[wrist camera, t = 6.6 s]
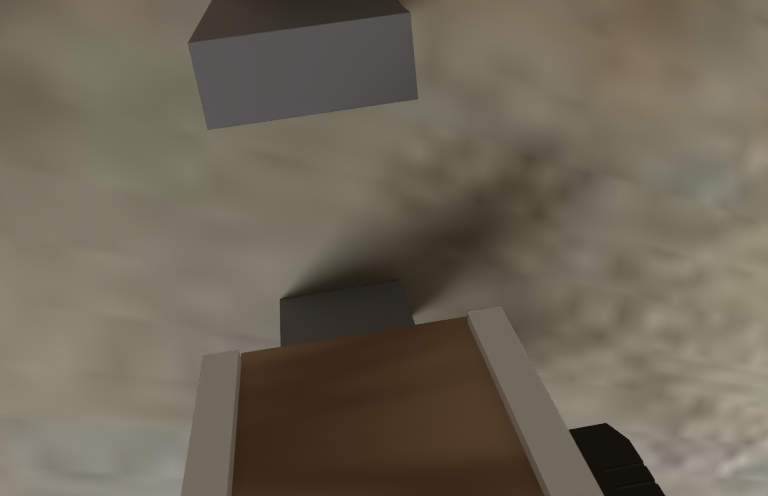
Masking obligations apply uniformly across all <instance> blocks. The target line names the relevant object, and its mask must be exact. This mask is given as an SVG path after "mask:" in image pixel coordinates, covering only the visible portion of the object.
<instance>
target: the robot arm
mask: <svg viewBox="0 0 768 496" xmlns="http://www.w3.org/2000/svg"><path fill="white" fill-rule="evenodd" d="M467 318H468V325H469V327H470V329H471V331H472V334H473V336H474V338H475V340H476V343H477V345H478V347H479V349H480V352H481V354H482V356H483V358H484V361H485V363H486V365H487V367H488V370H489V372H490V374H491V376H492V379H493V381H494V383H495V386H496V388H497V390H498V392H499V395H500V397H501V399H502V401H503V404H504V406H505V408H506V410H507V413H508V415H509V417H510V419H511V422H512V424H513V426H514V428H515V431H516V433H517V435H518V437H519V440H520V442H521V444H522V446H523V449H524V451H525V453H526V455H527V458H528V460H529V462H530V464H531V467H532V469H533V471H534V473H535V476H536V478H537V480H538V483H539V485H540V487H541V489H542V492H543V494H544V496H665V495H664V493H663V492H662V490H661V488H660V487H659V485H658V484H656V483H655V479H654V478H653V476H652V474H651V473H650V471H649V470H648V468H647V467H646V466H644V464H643V461H642V459H641V457H640V456H639V454H638V453H637V451H636V450H635V448H634V447H633V445H632V443H631V442H630V440H629V439H627V438H626V437H625V436H623V435H622V434H621V433H619V432H618V431H616V430H615V429H614V428H612V427H611V426H610V425H608V424H607V423H603V424H598V425H592V426H587V427H581V428H576V429H570V430H568V428H567V426H566V425H565V423H564V421H563V419H562V417H561V415H560V414H559V412H558V410H557V408H556V406H555V404H554V403H553V401H552V399H551V397H550V395H549V393H548V392H547V390H546V388H545V386H544V384H543V382H542V381H541V379H540V377H539V375H538V373H537V371H536V369H535V368H534V366H533V364H532V362H531V360H530V358H529V357H528V355H527V353H526V351H525V349H524V347H523V346H522V344H521V342H520V340H519V338H518V336H517V335H516V333H515V331H514V329H513V327H512V325H511V323H510V322H509V320H508V318H507V316H506V314H505V312H504V311H503V309H502V307H501V306H497V307H491V308H485V309H479V310H473V311H467ZM240 374H241V357H240V353H239V350H235V351H229V352H224V353H218V354H212V355H206V356H203V360H202V366H201V372H200V379H199V385H198V391H197V397H196V404H195V410H194V416H193V423H192V429H191V435H190V442H189V448H188V454H187V461H186V467H185V473H184V479H183V486H182V492H181V496H232V482H233V469H234V455H235V442H236V428H237V414H238V401H239V387H240Z"/></svg>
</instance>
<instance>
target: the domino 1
mask: <svg viewBox="0 0 768 496" xmlns="http://www.w3.org/2000/svg"><path fill="white" fill-rule="evenodd" d="M188 46H189V50H190V54H191V59H192V63H193V67H194V72H195V76H196V80H197V85H198V89H199V93H200V98H201V102H202V106H203V111H204V115H205V119H206V124H207V128H208V130H211V129H217V128H224V127H231V126H238V125H245V124H251V123H258V122H265V121H272V120H279V119H285V118H292V117H299V116H306V115H313V114H319V113H326V112H333V111H340V110H347V109H354V108H360V107H367V106H374V105H381V104H388V103H394V102H401V101H408V100H415V99H418V94H417V83H416V72H415V61H414V50H413V38H412V27H411V16H410V12H409V11H408V10H407V9H406V8H405V7H403V6H402V5H401V4H400V3H399V2H398V1H397V0H212V1H211V3H210V5H209V7H208V8H207V10H206V12H205V14H204V15H203V17H202V19H201V21H200V23H199V24H198V26H197V28H196V30H195V31H194V33H193V35H192V37H191V38H190V40H189V42H188Z"/></svg>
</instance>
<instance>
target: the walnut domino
mask: <svg viewBox="0 0 768 496" xmlns="http://www.w3.org/2000/svg"><path fill="white" fill-rule="evenodd" d="M232 496H544V494H543V492H542V489H541V487H540V485H539V483H538V480H537V478H536V476H535V473H534V471H533V469H532V467H531V464H530V462H529V460H528V458H527V455H526V453H525V451H524V449H523V446H522V444H521V442H520V440H519V437H518V435H517V433H516V431H515V428H514V426H513V424H512V422H511V419H510V417H509V415H508V413H507V410H506V408H505V406H504V404H503V401H502V399H501V397H500V395H499V392H498V390H497V388H496V386H495V383H494V381H493V379H492V376H491V374H490V372H489V370H488V367H487V365H486V363H485V361H484V358H483V356H482V354H481V352H480V349H479V347H478V345H477V343H476V340H475V338H474V336H473V334H472V331H471V329H470V327H469V325H468V318H467V317H461V318H454V319H448V320H442V321H436V322H430V323H424V324H418V325H412V326H406V327H399V328H393V329H387V330H381V331H375V332H369V333H363V334H357V335H350V336H344V337H338V338H332V339H326V340H320V341H314V342H308V343H301V344H295V345H289V346H283V347H277V348H271V349H265V350H259V351H252V352H246V353H241V374H240V387H239V401H238V414H237V428H236V442H235V455H234V469H233V482H232Z"/></svg>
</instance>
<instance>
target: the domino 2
mask: <svg viewBox="0 0 768 496" xmlns="http://www.w3.org/2000/svg"><path fill="white" fill-rule="evenodd" d="M412 325H415V323H414V320H413V317H412V314H411V311H410V308H409V305H408V302H407V299H406V296H405V293H404V290H403V287H402V284H401V281H400V280H395V281H389V282H383V283H377V284H371V285H365V286H359V287H353V288H347V289H341V290H335V291H329V292H323V293H317V294H310V295H304V296H298V297H292V298H286V299H280V334H281V347H283V346H289V345H295V344H301V343H308V342H314V341H320V340H326V339H332V338H338V337H344V336H350V335H357V334H363V333H369V332H375V331H381V330H387V329H393V328H399V327H406V326H412Z"/></svg>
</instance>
